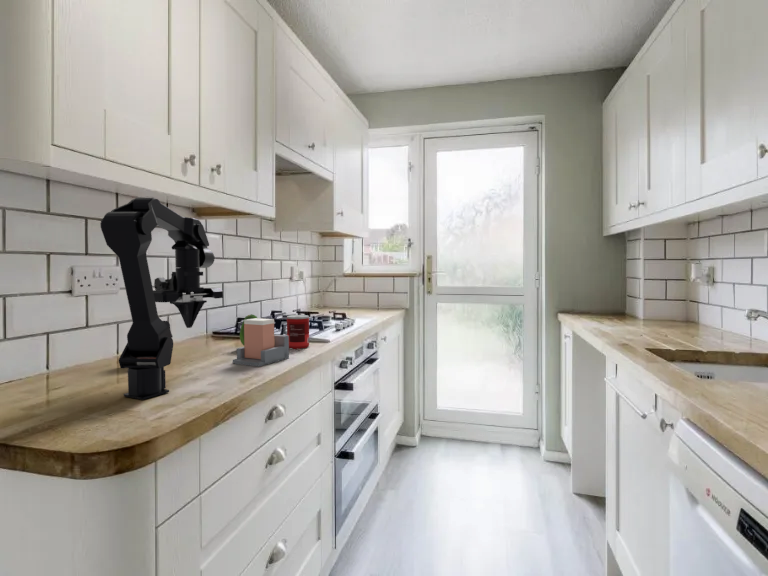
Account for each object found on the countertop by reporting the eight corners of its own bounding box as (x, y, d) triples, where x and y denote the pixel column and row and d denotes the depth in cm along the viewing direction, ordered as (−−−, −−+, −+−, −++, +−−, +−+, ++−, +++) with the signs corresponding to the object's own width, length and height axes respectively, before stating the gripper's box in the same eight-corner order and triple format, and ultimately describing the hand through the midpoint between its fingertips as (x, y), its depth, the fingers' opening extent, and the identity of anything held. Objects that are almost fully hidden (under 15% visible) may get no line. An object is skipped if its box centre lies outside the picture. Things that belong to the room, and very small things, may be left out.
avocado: (248, 346, 153) (247, 313, 153) (268, 347, 151) (267, 313, 151) (235, 350, 146) (234, 315, 145) (255, 351, 144) (255, 315, 143)
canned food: (302, 344, 158) (302, 314, 158) (313, 347, 152) (313, 316, 151) (283, 346, 153) (282, 315, 153) (293, 350, 147) (293, 317, 146)
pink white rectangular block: (263, 359, 125) (262, 320, 125) (244, 357, 128) (244, 319, 128) (274, 356, 130) (274, 319, 129) (256, 354, 133) (255, 318, 132)
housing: (260, 366, 121) (259, 341, 121) (231, 363, 126) (231, 339, 126) (288, 358, 133) (288, 335, 133) (261, 355, 137) (261, 333, 137)
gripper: (195, 268, 124) (196, 322, 125) (133, 268, 108) (135, 330, 108) (223, 267, 120) (225, 324, 120) (163, 267, 103) (165, 333, 103)
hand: (189, 327), depth 113 cm, fingers closed
